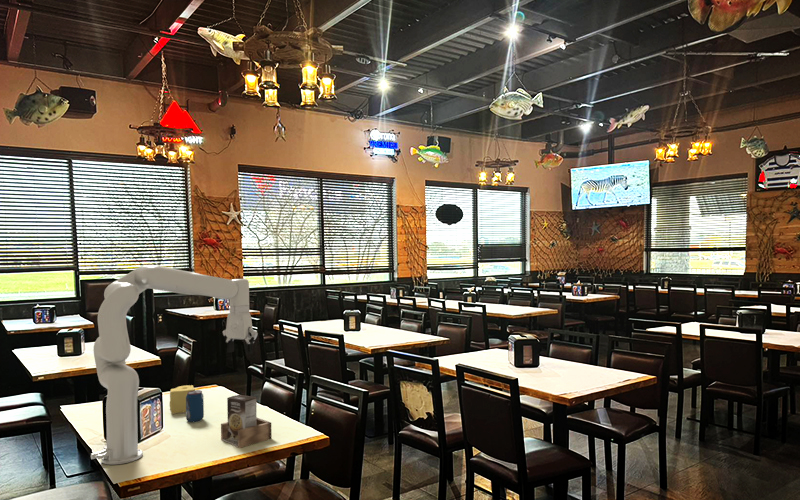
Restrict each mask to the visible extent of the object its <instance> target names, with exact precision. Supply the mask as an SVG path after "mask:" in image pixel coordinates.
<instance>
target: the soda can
mask: <svg viewBox="0 0 800 500" xmlns="http://www.w3.org/2000/svg"><path fill="white" fill-rule="evenodd" d="M204 402H205V401H204V393H203V390H199V389H198V390H196V389H195V391H189V392H188V393H187V396H186V412H185V419H186V421H187V422H188V423H192V424H193V423H199V422H201V421H202V420H203V419H204V417H205V416H204V415H205V411H204V408H205V405H204V404H205V403H204Z"/></svg>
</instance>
